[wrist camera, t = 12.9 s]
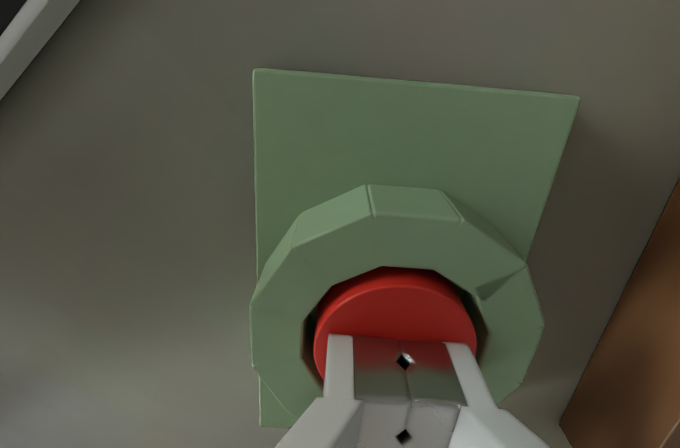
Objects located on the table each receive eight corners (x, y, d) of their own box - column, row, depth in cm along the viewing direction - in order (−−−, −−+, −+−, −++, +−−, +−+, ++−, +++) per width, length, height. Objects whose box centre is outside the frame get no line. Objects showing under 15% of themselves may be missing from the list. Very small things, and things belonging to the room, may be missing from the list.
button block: (263, 67, 8) (224, 68, 6) (553, 92, 9) (652, 106, 6) (266, 396, 13) (245, 486, 10) (456, 408, 13) (486, 500, 10)
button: (322, 239, 9) (317, 279, 7) (468, 250, 9) (496, 292, 7) (315, 352, 10) (309, 406, 8) (439, 360, 10) (457, 415, 9)
